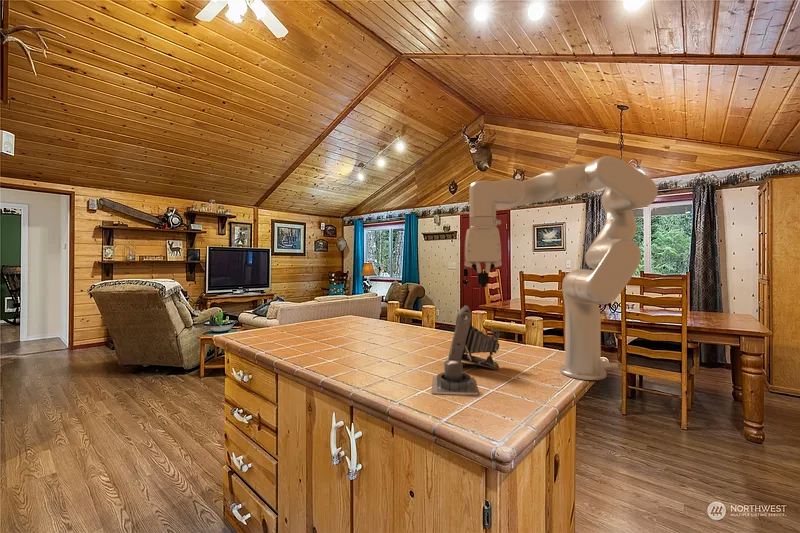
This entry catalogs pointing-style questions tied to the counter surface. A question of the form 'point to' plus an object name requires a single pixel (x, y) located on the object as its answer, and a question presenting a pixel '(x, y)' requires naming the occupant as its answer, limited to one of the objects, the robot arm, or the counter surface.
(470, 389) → the mount
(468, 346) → the camera
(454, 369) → the dark grey cylinder
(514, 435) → the counter surface
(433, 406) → the counter surface
